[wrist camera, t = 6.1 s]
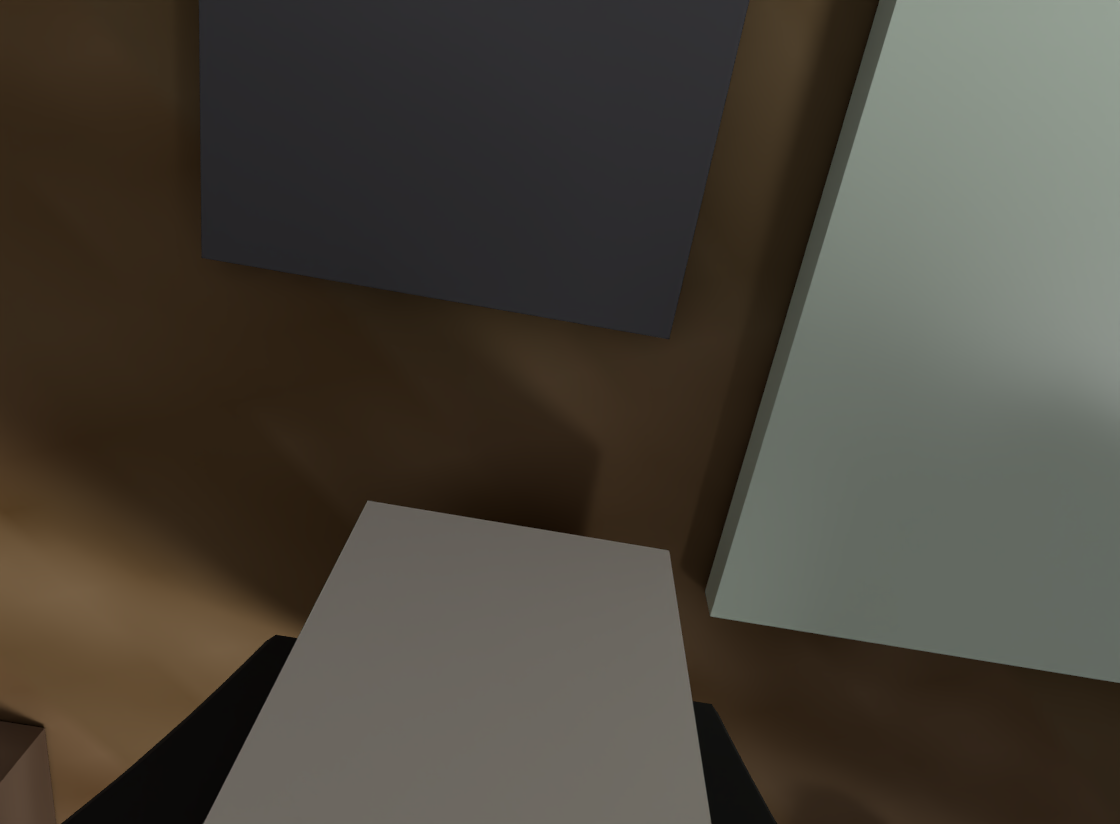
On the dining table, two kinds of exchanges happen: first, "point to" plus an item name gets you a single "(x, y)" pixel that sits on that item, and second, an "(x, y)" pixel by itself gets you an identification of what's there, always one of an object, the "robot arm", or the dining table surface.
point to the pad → (952, 355)
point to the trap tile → (467, 146)
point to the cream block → (478, 686)
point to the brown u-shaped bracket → (25, 776)
